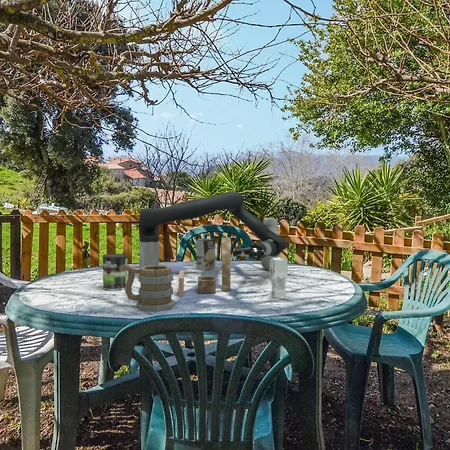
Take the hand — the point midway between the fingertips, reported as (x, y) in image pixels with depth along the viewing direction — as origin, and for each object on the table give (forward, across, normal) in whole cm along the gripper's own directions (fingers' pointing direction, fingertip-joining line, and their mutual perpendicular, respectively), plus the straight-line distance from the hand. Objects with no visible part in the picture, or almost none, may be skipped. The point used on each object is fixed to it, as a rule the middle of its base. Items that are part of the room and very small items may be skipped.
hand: (241, 254), depth 184 cm
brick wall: (+23, -14, +14) cm, 31 cm away
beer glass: (+8, +22, +14) cm, 28 cm away
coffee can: (+35, -41, +13) cm, 56 cm away
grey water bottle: (-42, -9, +14) cm, 46 cm away
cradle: (+17, -6, +14) cm, 22 cm away
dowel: (+12, 0, +14) cm, 18 cm away
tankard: (+48, -10, +14) cm, 51 cm away
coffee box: (-24, -39, +14) cm, 48 cm away
